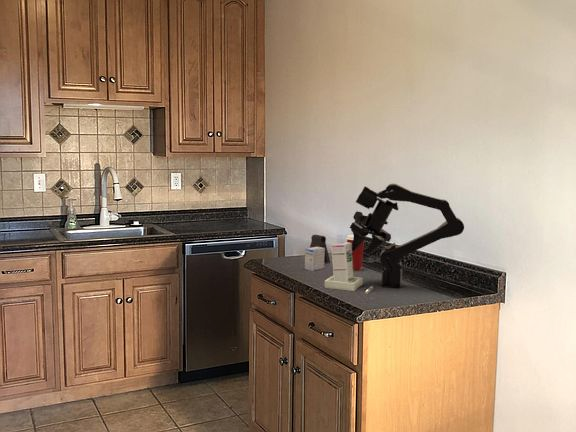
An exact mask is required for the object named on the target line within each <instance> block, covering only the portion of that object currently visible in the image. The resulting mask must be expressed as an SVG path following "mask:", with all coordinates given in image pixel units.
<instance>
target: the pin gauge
mask: <svg viewBox="0 0 576 432" xmlns="http://www.w3.org/2000/svg"><path fill="white" fill-rule="evenodd" d="M372 290H374V286H369V287H368V288H367V289H366V290H364V291H363V292H364V293H363V294H366V295H367V294H369V293H370V292H371V291H372Z"/></svg>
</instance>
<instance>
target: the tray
mask: <svg viewBox="0 0 576 432" xmlns="http://www.w3.org/2000/svg"><path fill="white" fill-rule="evenodd" d="M354 280H355V281H354V282H351V283H346V282H337V281H334V275H331V276H330V277H328V278H327V279H325V280H324V287H323V288H324V289H333V290H341V291H350V292H351V291H352V292H355V291H356V290H357V289H359V288H360V287H361V286H363V277H357V276H354Z"/></svg>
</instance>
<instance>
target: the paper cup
mask: <svg viewBox="0 0 576 432" xmlns="http://www.w3.org/2000/svg"><path fill="white" fill-rule="evenodd" d="M353 238H354V235H353V234H348V235H347V236H346V242H348V243H352V245H353ZM364 246H365V240H364V241H363V242H362V243H361V245H360V246H359V247H358V248H357V249H356V250H355V251H353V250H352V255H353V268H354V272H355V271H356V272H357V271H358V272H359V271H362V268H363V257H364Z"/></svg>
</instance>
